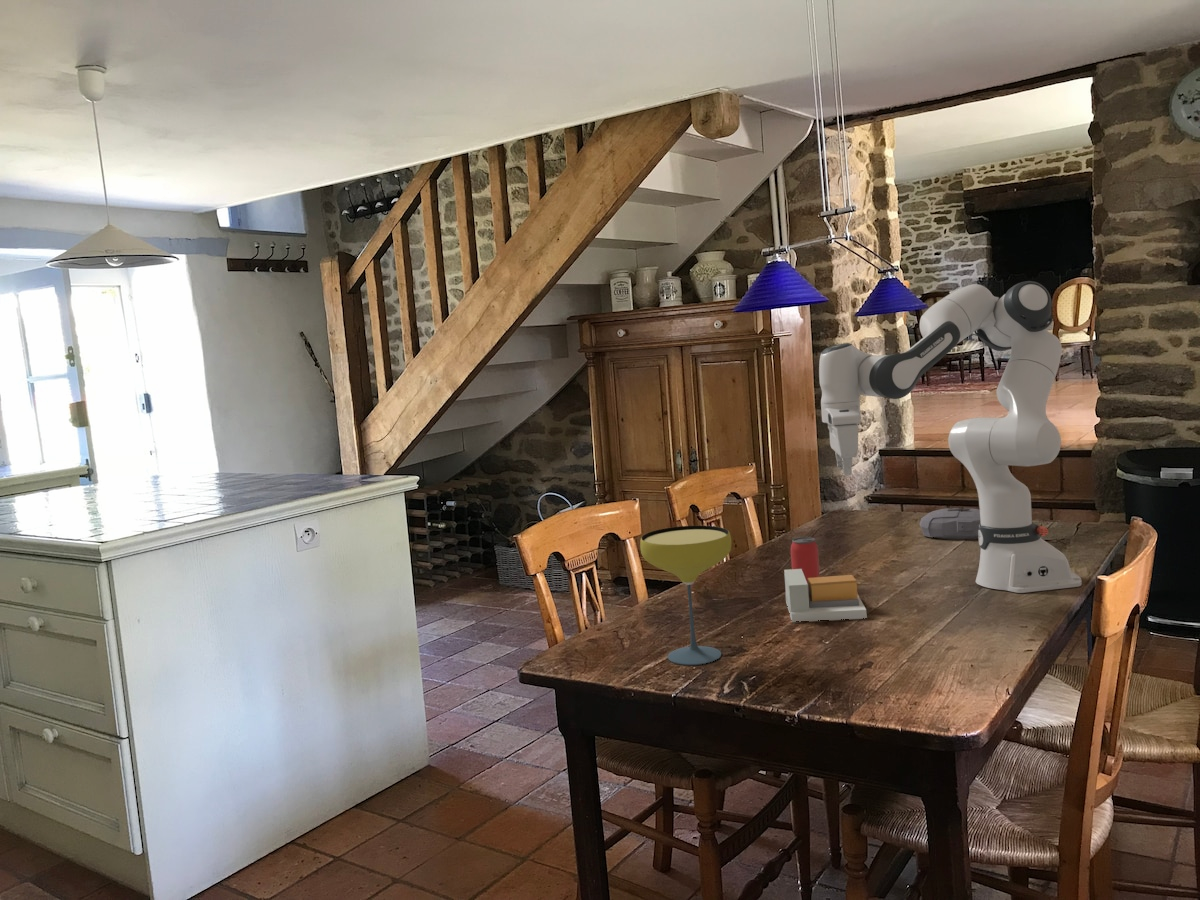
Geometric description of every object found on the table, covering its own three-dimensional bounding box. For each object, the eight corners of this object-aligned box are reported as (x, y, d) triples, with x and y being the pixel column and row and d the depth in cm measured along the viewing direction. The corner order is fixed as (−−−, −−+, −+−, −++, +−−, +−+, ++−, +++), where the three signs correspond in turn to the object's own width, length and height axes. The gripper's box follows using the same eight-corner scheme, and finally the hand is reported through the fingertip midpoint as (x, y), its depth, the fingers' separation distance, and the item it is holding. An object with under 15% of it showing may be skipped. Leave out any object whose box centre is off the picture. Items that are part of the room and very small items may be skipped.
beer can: (820, 590, 229) (817, 541, 227) (793, 591, 230) (789, 543, 229) (819, 583, 235) (816, 536, 234) (793, 583, 236) (789, 537, 235)
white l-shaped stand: (855, 598, 219) (853, 564, 218) (866, 618, 204) (864, 582, 203) (786, 601, 221) (783, 568, 220) (791, 622, 206) (789, 586, 205)
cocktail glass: (738, 671, 179) (728, 542, 176) (644, 673, 182) (633, 547, 179) (740, 640, 197) (732, 523, 194) (655, 642, 200) (645, 527, 197)
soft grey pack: (993, 530, 275) (922, 530, 284) (992, 502, 275) (920, 503, 283) (992, 541, 262) (917, 541, 270) (991, 512, 261) (915, 512, 269)
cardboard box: (853, 596, 214) (851, 574, 214) (857, 602, 209) (856, 580, 209) (808, 599, 215) (807, 577, 214) (812, 605, 210) (811, 583, 209)
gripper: (821, 411, 231) (825, 466, 233) (832, 418, 211) (836, 479, 212) (848, 409, 230) (851, 464, 232) (861, 416, 210) (865, 477, 212)
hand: (844, 471), depth 222 cm, fingers open, 8 cm apart
